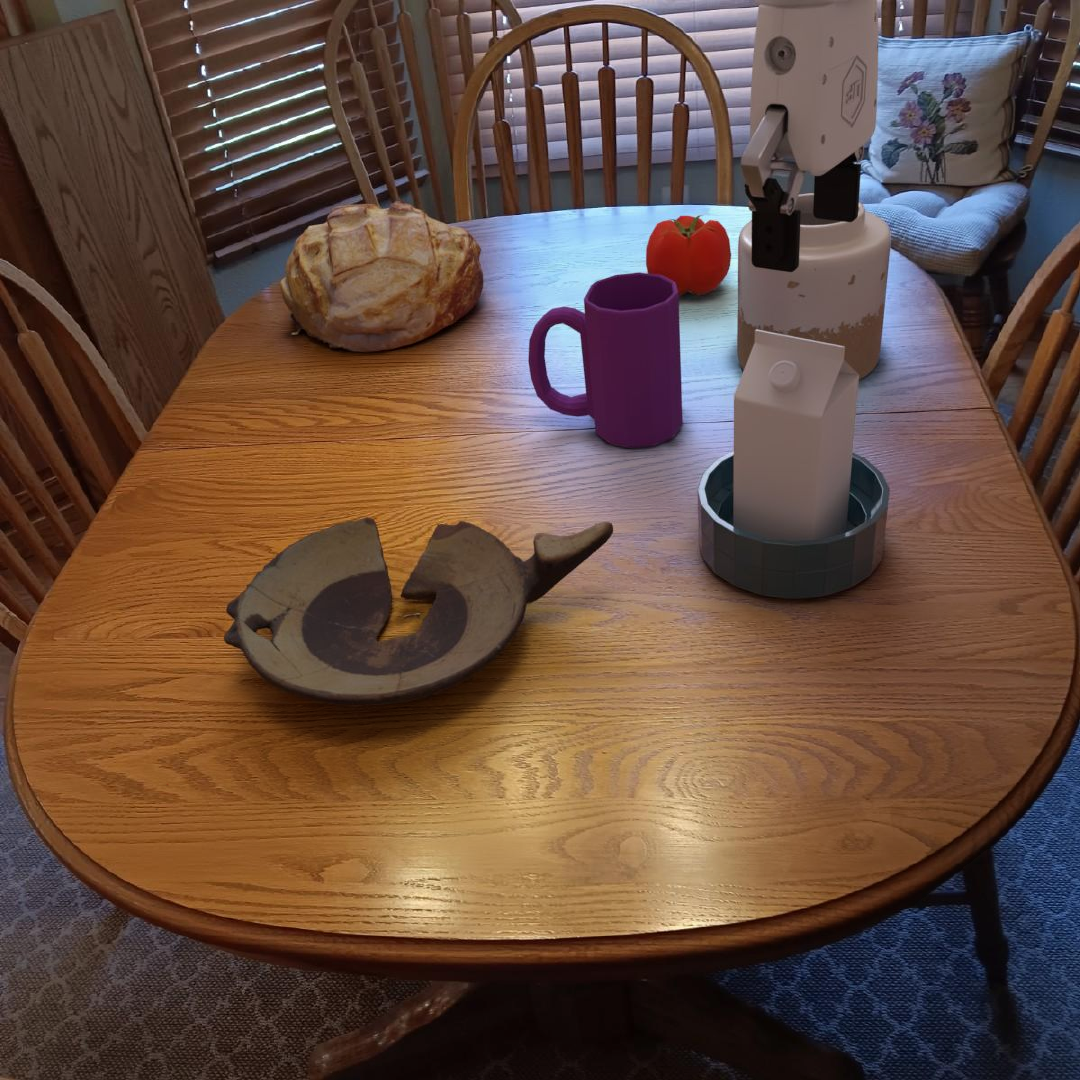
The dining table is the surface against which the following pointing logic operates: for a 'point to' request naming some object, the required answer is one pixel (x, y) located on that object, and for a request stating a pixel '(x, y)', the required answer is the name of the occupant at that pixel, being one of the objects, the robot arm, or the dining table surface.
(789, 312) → the vase
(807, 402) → the milk carton
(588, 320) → the mug
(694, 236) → the tomato
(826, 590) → the shallow pet bowl
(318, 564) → the broken pan
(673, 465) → the dining table surface
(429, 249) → the bread
